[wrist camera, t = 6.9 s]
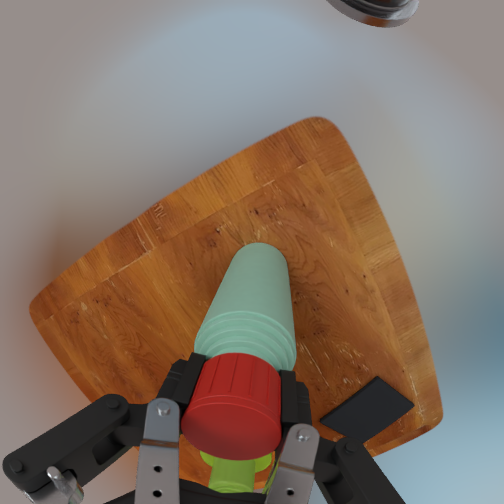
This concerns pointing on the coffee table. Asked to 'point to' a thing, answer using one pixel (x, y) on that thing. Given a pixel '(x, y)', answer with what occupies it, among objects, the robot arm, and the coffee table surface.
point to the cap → (235, 408)
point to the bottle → (252, 310)
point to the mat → (368, 411)
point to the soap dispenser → (234, 473)
